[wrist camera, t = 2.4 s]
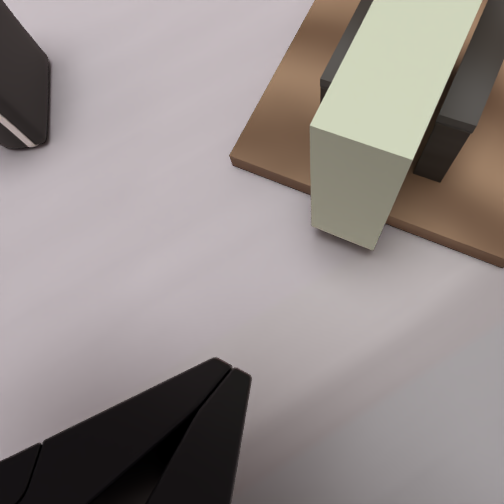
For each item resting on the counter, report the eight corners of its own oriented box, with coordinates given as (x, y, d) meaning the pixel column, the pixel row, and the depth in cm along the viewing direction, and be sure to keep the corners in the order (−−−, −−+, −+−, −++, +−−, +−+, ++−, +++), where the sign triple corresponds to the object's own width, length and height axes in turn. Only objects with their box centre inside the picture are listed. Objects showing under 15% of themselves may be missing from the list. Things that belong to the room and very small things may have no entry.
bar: (373, 250, 19) (412, 159, 11) (311, 226, 20) (309, 125, 12) (455, 61, 21) (534, -120, 14) (397, 45, 22) (442, -134, 14)
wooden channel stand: (502, 268, 19) (573, 223, 14) (232, 165, 23) (208, 99, 17) (596, 5, 22) (680, -110, 17) (349, -48, 26) (357, -156, 21)
